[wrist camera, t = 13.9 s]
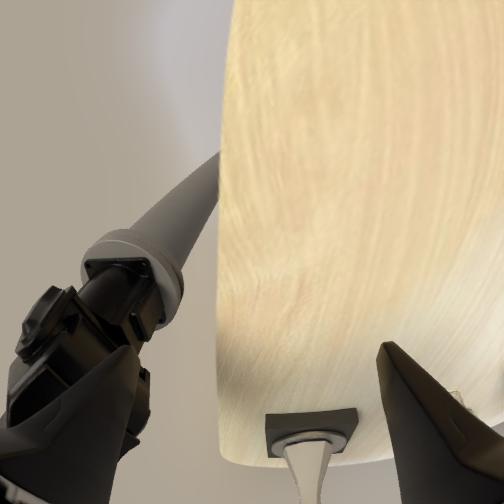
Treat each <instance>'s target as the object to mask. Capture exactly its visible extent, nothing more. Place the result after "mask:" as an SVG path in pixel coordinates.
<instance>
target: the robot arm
mask: <svg viewBox="0 0 504 504" xmlns="http://www.w3.org/2000/svg"><path fill="white" fill-rule="evenodd" d="M141 262H143V263H145V265H143V264H142V263H141ZM89 265H90V266H89ZM84 267H85V270H86V272H87V275H88V278H89V280H88V281H87V282H86V283H85V284H84V285H83V287H82V288H81V289H80V290H79V291H78V292H77V291H76V290H75V289H74V287H73V286H70V287H68V288H67V289H65V290H62V289H59V288H57V287H55V286H51V287H50V288H49V289H48V290H47V291H46V292H45V293H44V294H43V295H42V296H41V297H40V298H39V299H38V301H37V302H36V303H35V304H34V306H33V307H32V309H31V310H30V312H29V313H28V315H27V317H26V319H25V320H24V322H23V323H22V334H21V336H20V339H19V341H18V344H17V346H16V349H15V352H16V354H17V355H18V357H17V358H16V359H15V360H14V362H13V363H12V364H11V366H10V369H9V377H8V388H7V404H6V411H5V413H4V415H3V416H2V417H1V418H0V504H109V500H110V495H111V490H112V486H113V485H112V484H113V480H114V475H115V471H116V467H117V463H118V462H119V460H120V459H121V458H122V456H124V455H125V454H126V453H127V452H128V451H129V450H131V449H132V448H134V447H136V446H137V445H139V444H140V440H139V439H138V438H136V437H137V436H138V435H139V434H140V433H141V432H142V430H143V429H144V428H145V426H146V424H147V421H148V419H149V417H150V413H151V411H150V409H149V397H150V394H149V393H150V372H148V370H146V369H145V368H143V367H142V366H141V365H140V359H139V357H138V355H139V352H140V350H141V348H142V346H143V343H144V342H148V341H149V340H150V339H151V337H152V335H153V333H154V330H155V328H156V326H157V324H164V323H165V321H166V319H167V317H166V314H165V311H164V309H165V306H164V303H163V300H162V297H161V293H160V290H159V287H158V284H157V283H156V282H155V278H154V275H153V272H152V268H151V264H150V261H149V260H148V259H147V258H146V257H124V258H98V259H87V260H86V261H85V262H84ZM160 318H161V319H160ZM376 363H377V370H378V377H379V384H380V391H381V398H382V403H383V407H384V411H385V416H386V420H387V424H388V429H389V433H390V438H391V442H392V447H393V452H394V458H395V463H396V468H397V474H398V480H399V487H400V492H401V493H400V494H401V501H402V504H504V437H503V436H501V435H499V434H498V433H497V432H495V431H494V430H493V429H491V428H490V427H489V426H487V425H486V424H485V423H484V422H482V421H481V420H480V419H478V418H477V417H476V416H475V415H473V414H472V413H471V412H470V411H469V410H467V409H466V408H465V407H464V406H463V405H462V404H461V403H460V402H459V401H458V400H457V399H454V397H453V396H452V395H451V394H450V393H449V392H448V391H447V390H446V389H445V388H444V387H443V386H442V385H441V384H439V383H438V382H437V381H436V380H435V379H434V378H433V377H432V376H431V375H430V374H429V373H428V372H426V371H425V370H424V369H423V368H422V367H421V366H420V365H419V364H418V363H417V362H416V361H414V360H413V359H412V358H411V357H410V356H409V355H408V354H407V353H406V352H404V351H403V350H402V349H401V348H400V347H399V346H398V345H397V344H396V343H394V342H393V341H389V342H383V343H382V344H381V346H380V349H379V352H378V355H377V359H376Z"/></svg>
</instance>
